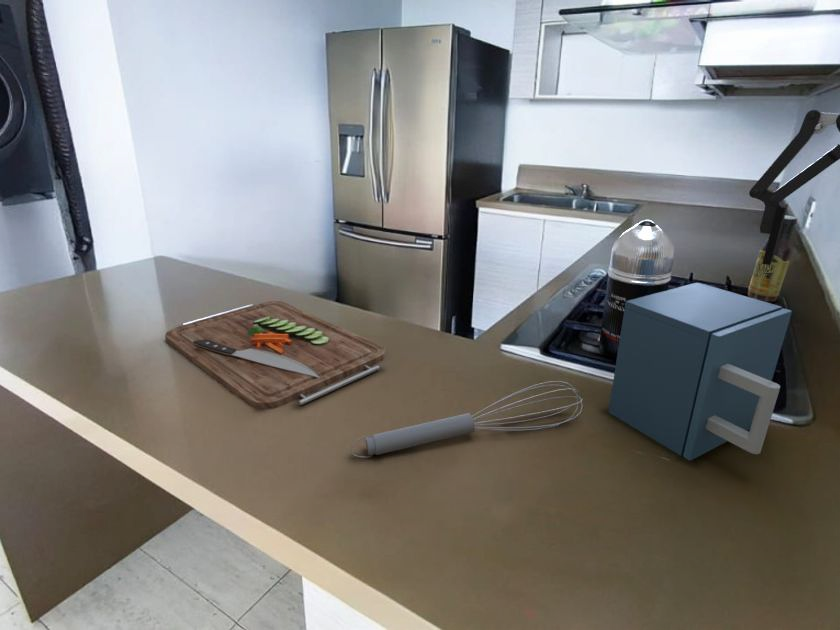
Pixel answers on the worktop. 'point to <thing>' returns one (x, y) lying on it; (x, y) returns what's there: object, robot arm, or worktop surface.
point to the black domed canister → (634, 276)
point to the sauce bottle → (773, 266)
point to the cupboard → (671, 356)
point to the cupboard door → (738, 386)
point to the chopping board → (275, 352)
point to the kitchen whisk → (448, 427)
